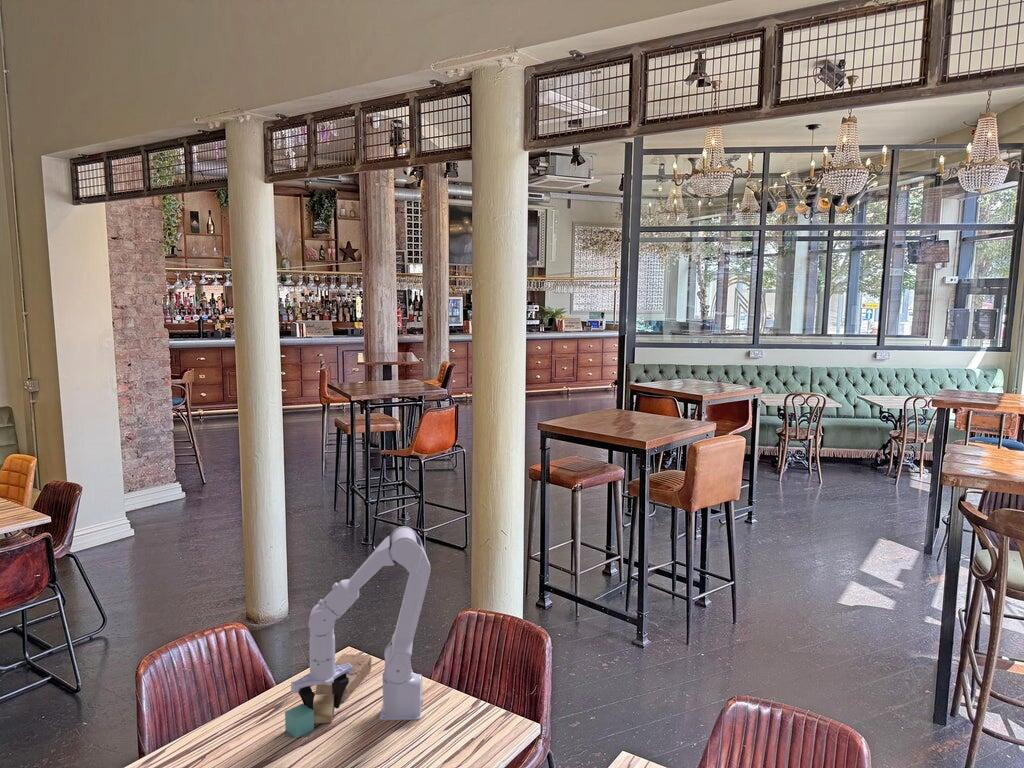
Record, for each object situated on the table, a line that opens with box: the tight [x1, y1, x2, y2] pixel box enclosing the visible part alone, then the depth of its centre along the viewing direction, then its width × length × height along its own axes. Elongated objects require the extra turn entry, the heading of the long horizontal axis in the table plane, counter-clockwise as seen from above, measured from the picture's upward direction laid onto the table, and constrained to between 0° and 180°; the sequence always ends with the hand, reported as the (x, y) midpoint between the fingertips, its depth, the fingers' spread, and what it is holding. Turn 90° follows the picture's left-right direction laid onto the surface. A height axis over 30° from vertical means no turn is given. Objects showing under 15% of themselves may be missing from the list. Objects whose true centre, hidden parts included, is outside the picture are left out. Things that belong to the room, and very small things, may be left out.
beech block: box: [313, 694, 335, 725], centre depth 163 cm, size 4×4×4 cm
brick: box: [315, 653, 373, 703], centre depth 179 cm, size 17×8×5 cm, turn 168°
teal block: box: [284, 702, 315, 739], centre depth 158 cm, size 4×4×4 cm
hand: (322, 711), depth 163 cm, fingers closed on beech block, 6 cm apart
